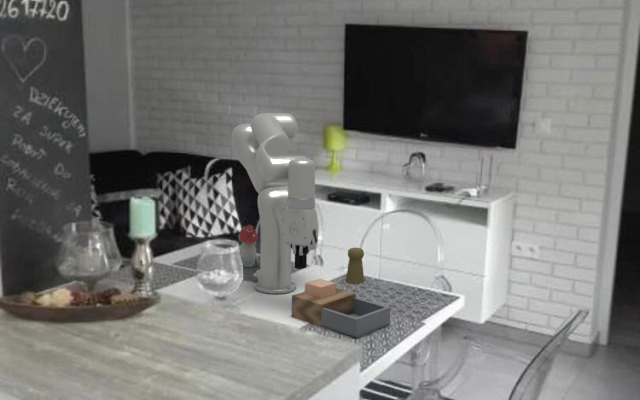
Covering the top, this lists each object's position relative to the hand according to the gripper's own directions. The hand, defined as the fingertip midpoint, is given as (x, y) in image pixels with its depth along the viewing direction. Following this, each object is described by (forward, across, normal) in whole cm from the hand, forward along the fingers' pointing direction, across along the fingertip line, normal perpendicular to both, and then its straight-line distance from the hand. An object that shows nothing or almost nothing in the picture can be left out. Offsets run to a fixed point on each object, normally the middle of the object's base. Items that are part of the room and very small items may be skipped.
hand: (300, 267), depth 201 cm
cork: (+12, -7, +32) cm, 35 cm away
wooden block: (+12, +9, 0) cm, 15 cm away
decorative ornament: (+11, -45, +20) cm, 50 cm away
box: (+12, +20, 0) cm, 24 cm away
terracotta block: (+6, +7, 0) cm, 9 cm away
